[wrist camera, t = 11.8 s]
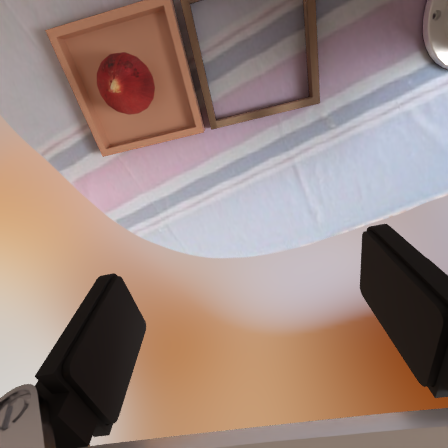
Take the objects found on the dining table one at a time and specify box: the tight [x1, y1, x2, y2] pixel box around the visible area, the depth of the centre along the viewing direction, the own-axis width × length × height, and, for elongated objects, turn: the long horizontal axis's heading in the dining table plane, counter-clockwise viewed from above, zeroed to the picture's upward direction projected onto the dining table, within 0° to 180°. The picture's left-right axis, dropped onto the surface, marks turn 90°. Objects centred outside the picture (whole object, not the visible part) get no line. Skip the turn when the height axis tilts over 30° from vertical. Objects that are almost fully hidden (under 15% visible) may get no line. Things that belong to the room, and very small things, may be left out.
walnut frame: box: [180, 0, 320, 130], centre depth 29 cm, size 14×14×2 cm
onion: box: [97, 52, 155, 115], centre depth 27 cm, size 6×6×8 cm
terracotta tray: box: [45, 0, 205, 157], centre depth 31 cm, size 14×14×2 cm
